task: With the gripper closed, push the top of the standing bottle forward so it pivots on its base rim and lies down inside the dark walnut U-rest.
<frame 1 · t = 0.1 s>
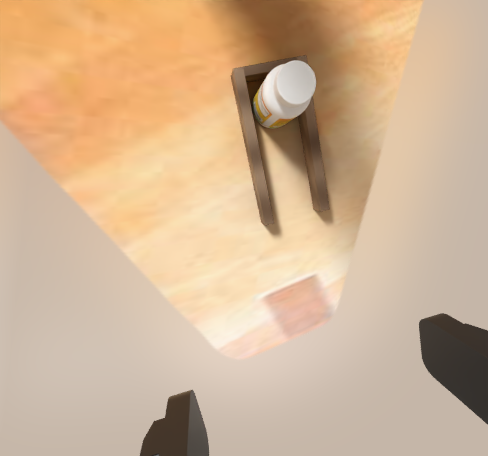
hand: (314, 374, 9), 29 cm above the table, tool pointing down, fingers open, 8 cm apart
walnut U-rest: (279, 146, 36), on the table
supplement bottle: (271, 107, 36), resting in walnut U-rest
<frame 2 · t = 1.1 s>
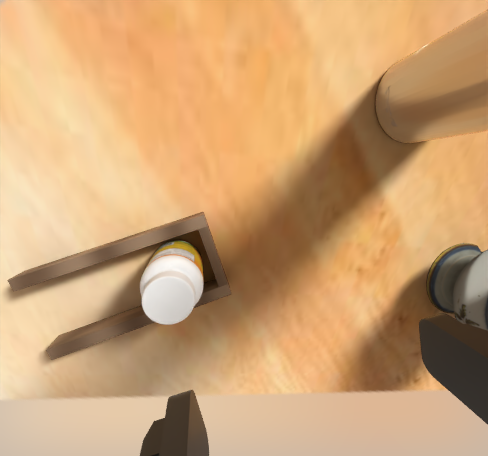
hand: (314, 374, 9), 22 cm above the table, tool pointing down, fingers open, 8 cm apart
apothecary jar: (456, 277, 37), on the table
walnut U-rest: (133, 278, 30), on the table
supplement bottle: (177, 262, 30), resting in walnut U-rest
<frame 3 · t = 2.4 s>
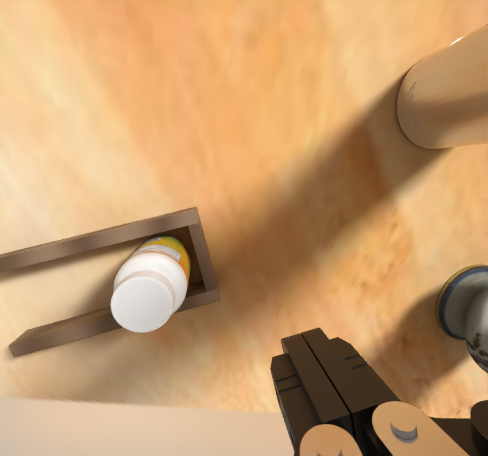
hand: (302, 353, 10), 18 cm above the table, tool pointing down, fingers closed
apothecary jar: (469, 301, 34), on the table
walnut U-rest: (113, 273, 27), on the table
supplement bottle: (164, 260, 27), resting in walnut U-rest
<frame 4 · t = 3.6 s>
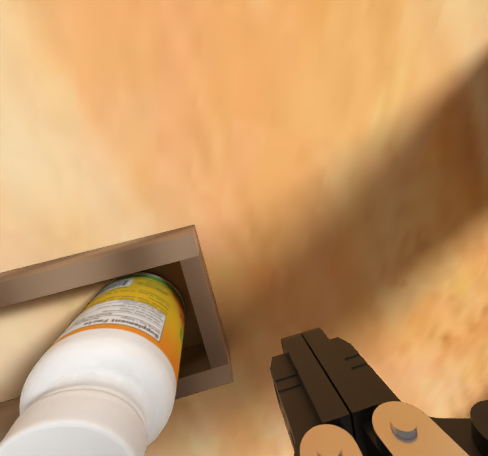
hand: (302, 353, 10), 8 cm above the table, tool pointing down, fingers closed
walnut U-rest: (58, 334, 16), on the table
supplement bottle: (142, 310, 17), resting in walnut U-rest
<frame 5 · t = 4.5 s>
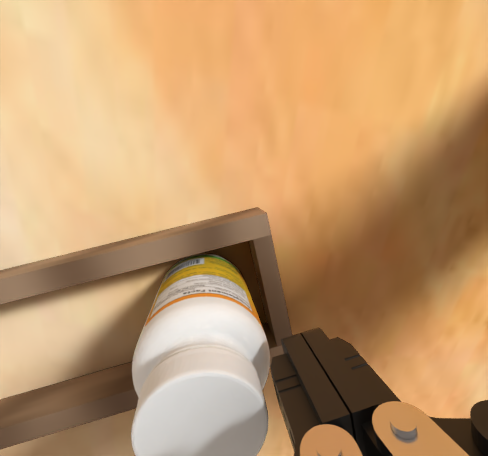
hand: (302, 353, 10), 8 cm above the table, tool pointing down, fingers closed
walnut U-rest: (124, 314, 17), on the table
supplement bottle: (204, 291, 17), resting in walnut U-rest, touching gripper
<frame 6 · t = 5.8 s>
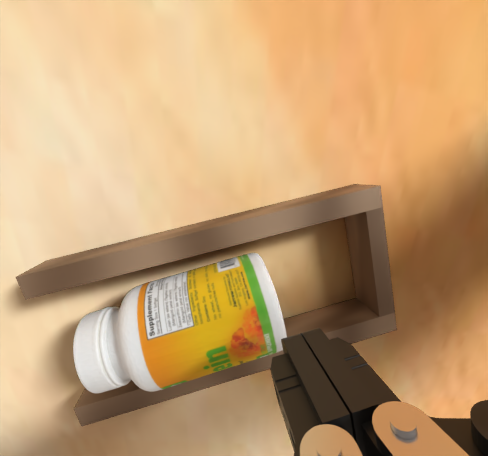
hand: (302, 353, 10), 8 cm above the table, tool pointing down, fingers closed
walnut U-rest: (226, 287, 17), on the table
supplement bottle: (275, 296, 15), point 3 cm above the table
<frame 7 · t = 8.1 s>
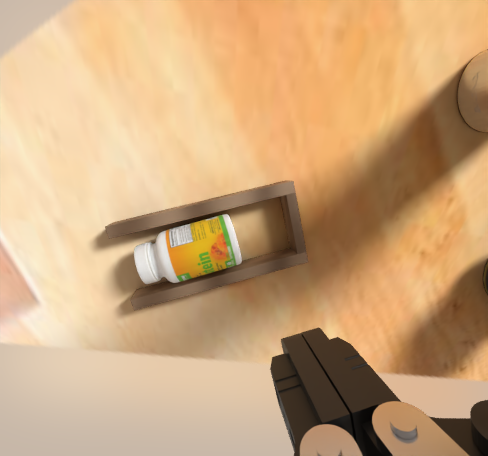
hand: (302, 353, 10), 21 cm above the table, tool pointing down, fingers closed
walnut U-rest: (212, 239, 30), on the table
supplement bottle: (237, 237, 28), point 3 cm above the table
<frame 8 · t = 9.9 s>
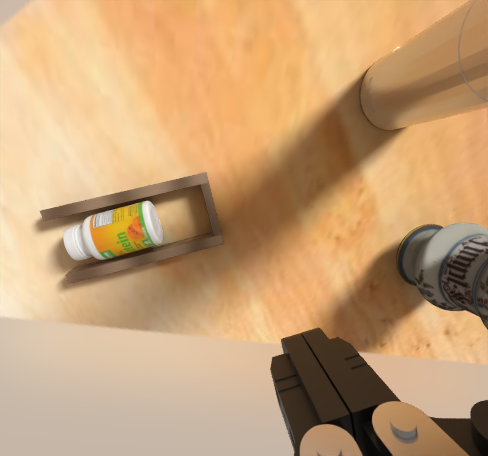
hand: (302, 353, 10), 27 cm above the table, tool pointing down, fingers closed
apothecary jar: (424, 254, 42), on the table
walnut U-rest: (142, 224, 35), on the table
supplement bottle: (158, 221, 32), point 3 cm above the table
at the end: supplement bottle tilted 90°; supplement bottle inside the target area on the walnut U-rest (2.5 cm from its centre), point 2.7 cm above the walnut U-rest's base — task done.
